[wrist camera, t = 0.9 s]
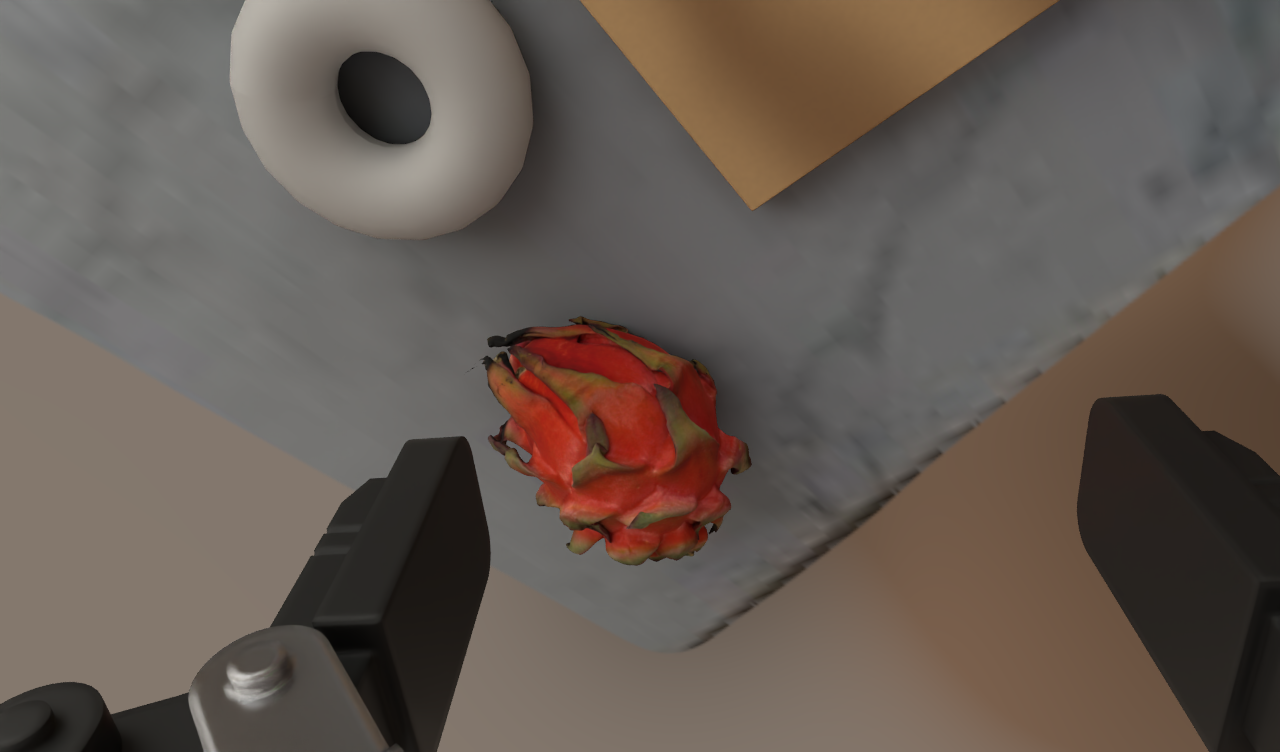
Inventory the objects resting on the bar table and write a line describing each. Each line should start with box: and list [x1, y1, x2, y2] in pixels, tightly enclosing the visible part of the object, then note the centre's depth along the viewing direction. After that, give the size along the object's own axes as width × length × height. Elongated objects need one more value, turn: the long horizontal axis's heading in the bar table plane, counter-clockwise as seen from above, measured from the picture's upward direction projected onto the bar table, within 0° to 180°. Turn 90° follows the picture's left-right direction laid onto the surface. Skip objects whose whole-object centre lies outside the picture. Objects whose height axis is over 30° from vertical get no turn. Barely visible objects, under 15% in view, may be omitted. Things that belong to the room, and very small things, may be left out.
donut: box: [230, 0, 533, 240], centre depth 31 cm, size 10×4×10 cm
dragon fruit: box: [467, 317, 752, 566], centre depth 36 cm, size 8×8×12 cm
